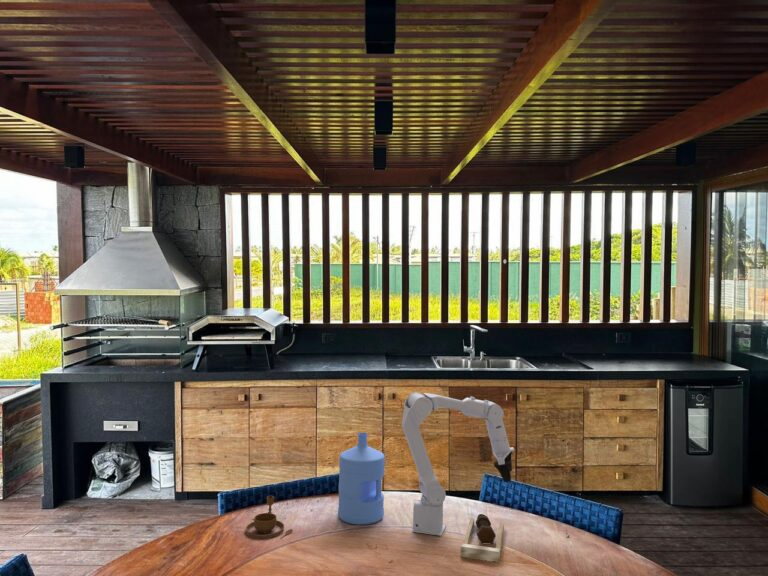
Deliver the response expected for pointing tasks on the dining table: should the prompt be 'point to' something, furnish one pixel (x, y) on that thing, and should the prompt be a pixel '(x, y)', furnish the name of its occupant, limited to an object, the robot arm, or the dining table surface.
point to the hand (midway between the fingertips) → (508, 476)
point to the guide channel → (481, 551)
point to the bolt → (484, 529)
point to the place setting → (266, 523)
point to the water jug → (361, 484)
